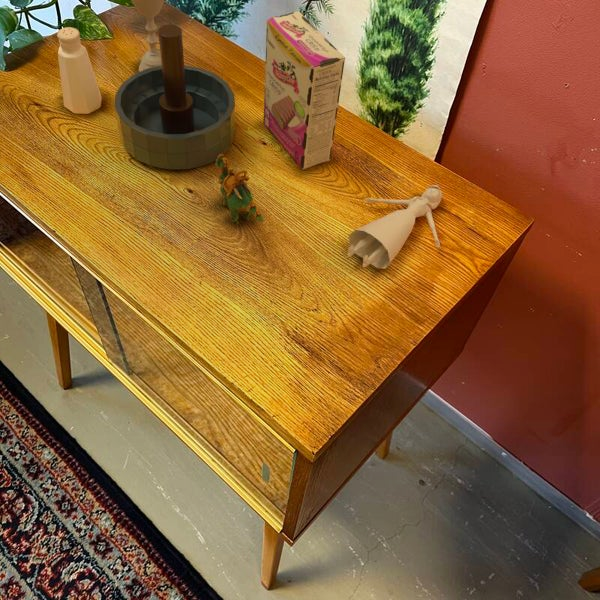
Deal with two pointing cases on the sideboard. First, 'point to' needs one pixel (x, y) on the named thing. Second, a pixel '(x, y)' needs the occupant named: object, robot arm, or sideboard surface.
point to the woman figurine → (393, 228)
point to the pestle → (174, 84)
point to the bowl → (148, 128)
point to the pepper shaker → (77, 74)
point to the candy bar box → (301, 88)
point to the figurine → (236, 190)
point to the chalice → (150, 31)
